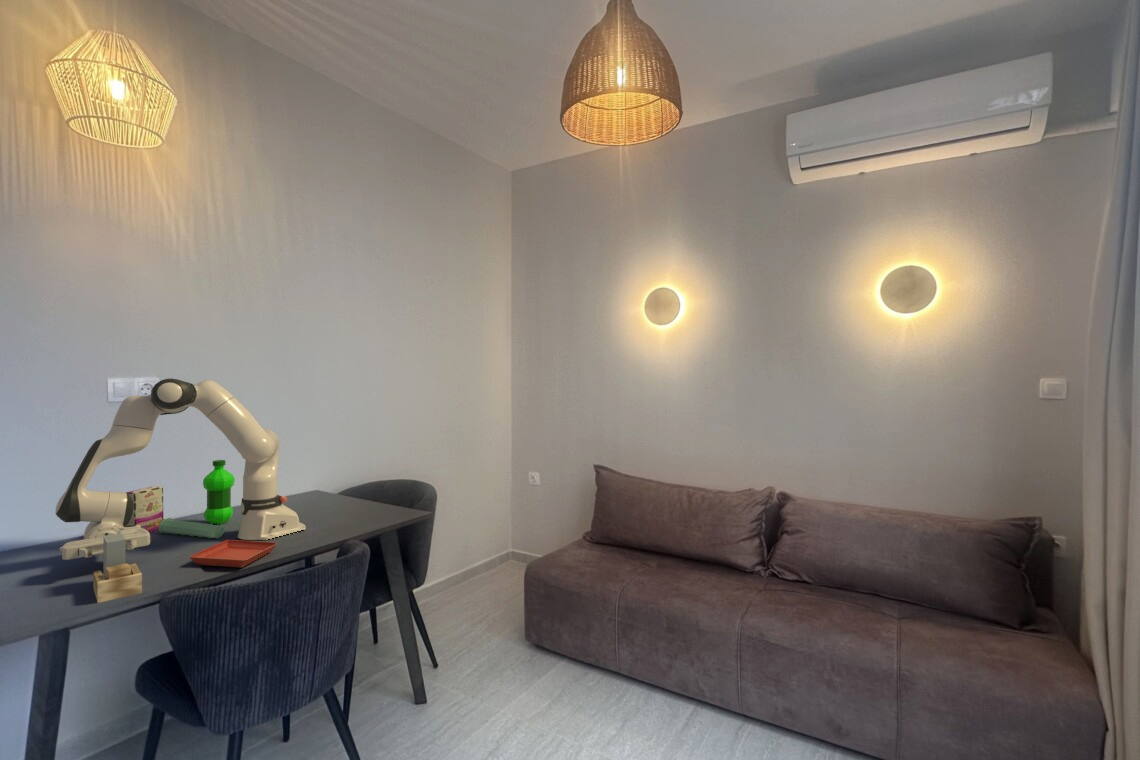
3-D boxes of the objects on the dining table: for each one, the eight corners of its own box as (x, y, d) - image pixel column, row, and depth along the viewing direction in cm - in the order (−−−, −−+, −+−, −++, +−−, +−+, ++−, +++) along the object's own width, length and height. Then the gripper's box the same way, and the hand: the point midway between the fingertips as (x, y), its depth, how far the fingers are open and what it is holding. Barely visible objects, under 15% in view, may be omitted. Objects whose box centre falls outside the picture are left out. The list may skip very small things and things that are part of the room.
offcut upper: (127, 574, 147) (127, 563, 147) (130, 577, 144) (130, 566, 144) (105, 578, 143) (105, 567, 143) (109, 582, 141) (109, 571, 141)
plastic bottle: (214, 518, 219) (215, 458, 218) (239, 519, 218) (240, 459, 218) (196, 526, 209) (197, 462, 208) (222, 526, 208) (223, 463, 208)
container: (224, 521, 196) (170, 514, 201) (211, 531, 190) (155, 524, 196) (229, 533, 198) (175, 527, 204) (216, 544, 193) (161, 537, 199)
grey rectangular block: (121, 581, 154) (121, 533, 154) (125, 589, 149) (125, 539, 148) (103, 585, 151) (103, 536, 151) (106, 593, 146) (106, 542, 146)
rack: (135, 584, 152) (135, 563, 152) (141, 596, 144) (141, 574, 144) (93, 593, 146) (93, 571, 146) (97, 606, 138) (97, 583, 138)
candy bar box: (153, 527, 206) (153, 485, 205) (164, 528, 205) (164, 486, 204) (123, 536, 195) (124, 491, 194) (135, 537, 194) (135, 492, 193)
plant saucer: (278, 551, 181) (278, 541, 181) (244, 570, 163) (244, 559, 163) (226, 549, 182) (226, 539, 182) (187, 567, 164) (187, 556, 164)
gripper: (59, 537, 159) (61, 548, 149) (146, 523, 173) (153, 533, 164) (59, 558, 159) (61, 570, 149) (146, 542, 173) (153, 553, 164)
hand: (110, 550), depth 156 cm, fingers open, 8 cm apart
